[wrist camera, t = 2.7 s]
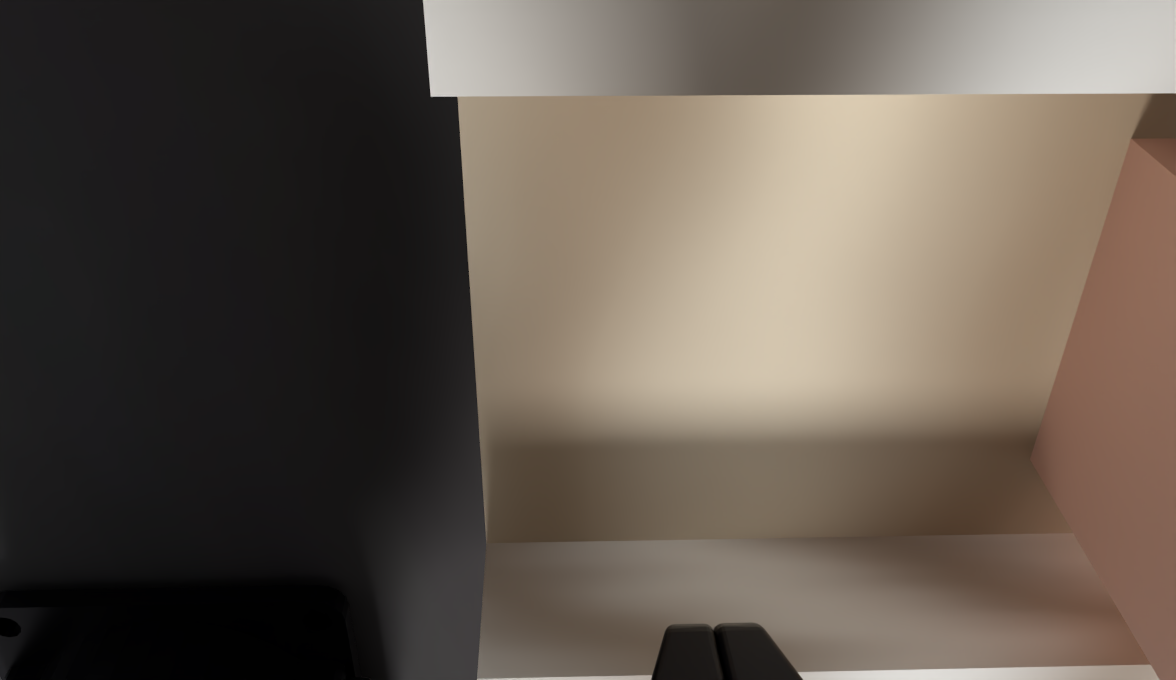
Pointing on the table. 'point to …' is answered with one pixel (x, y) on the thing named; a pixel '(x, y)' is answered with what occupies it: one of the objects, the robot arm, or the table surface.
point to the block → (1124, 405)
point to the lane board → (788, 322)
